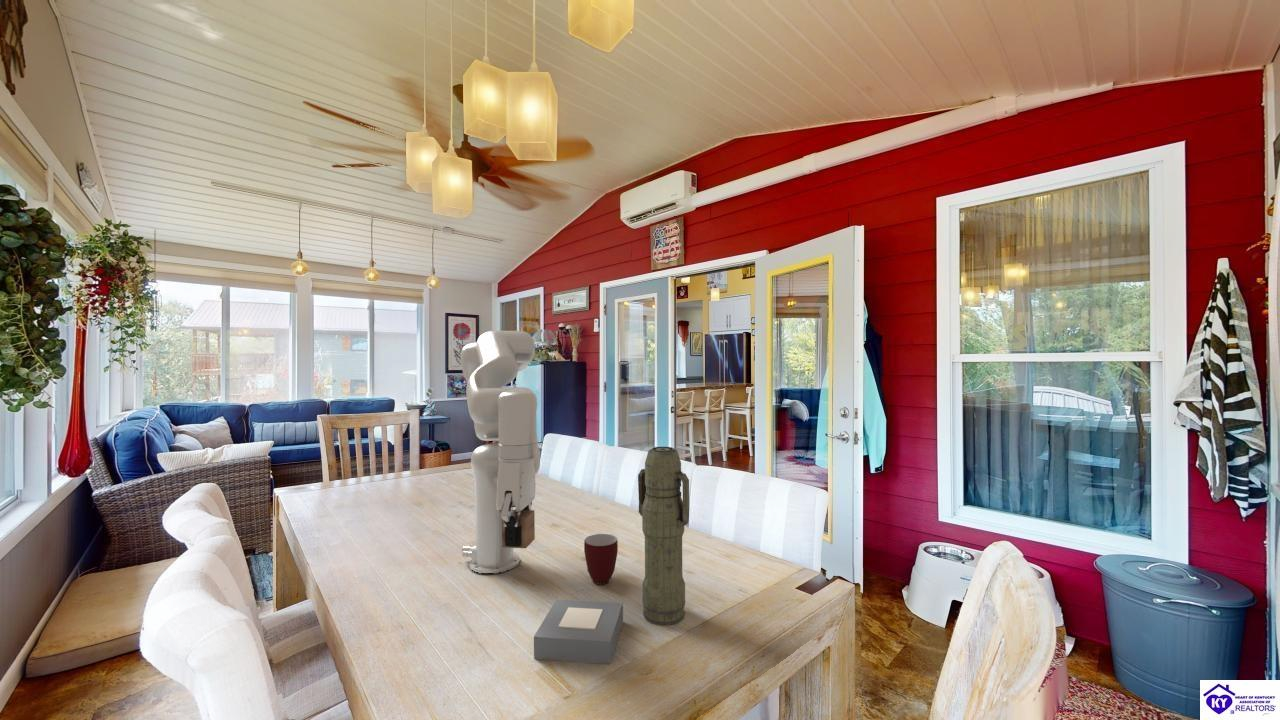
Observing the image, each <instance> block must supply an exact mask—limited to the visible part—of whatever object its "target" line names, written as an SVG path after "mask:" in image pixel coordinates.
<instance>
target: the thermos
mask: <svg viewBox="0 0 1280 720" xmlns="http://www.w3.org/2000/svg"><path fill="white" fill-rule="evenodd" d="M637 486H638V487H637V488H638V514H640V516H641V519H642V520H641V521H642V522H641V523H642V526H641V527H642V533H643V536H644V579H643V581H642V605H643V613H642V614H643V617H644V619H645V620H646V622H649V623H651V624H653V625H656V626H672V625H676V624H679V623H680V622H682V621H683V620H684V619H685V604H686V582H685V580H684V576H683V536H684V533H685V526H687V525H688V524H689V521H690V479H689V477H688V476H687V474H686V473H684V472H683V471H682V461H681V458H680V454H679V453H678V450H677V449H675V448H674V447H671V446H655V447H654V446H653V447H652V448H650V449H648V451H647V455H646V457H645V460H644V468H642V469H641V470H640V471H639V473H638V475H637ZM681 487H682V491H681Z"/></svg>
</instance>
